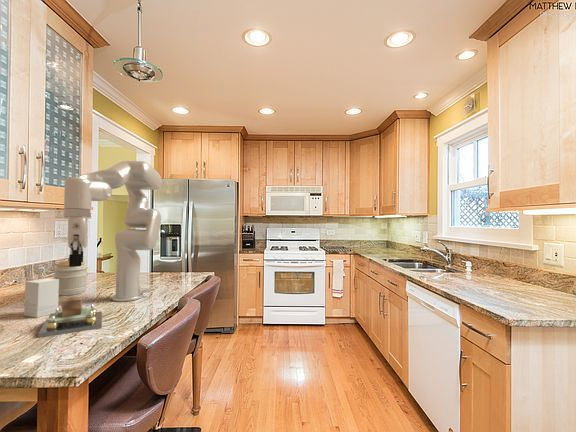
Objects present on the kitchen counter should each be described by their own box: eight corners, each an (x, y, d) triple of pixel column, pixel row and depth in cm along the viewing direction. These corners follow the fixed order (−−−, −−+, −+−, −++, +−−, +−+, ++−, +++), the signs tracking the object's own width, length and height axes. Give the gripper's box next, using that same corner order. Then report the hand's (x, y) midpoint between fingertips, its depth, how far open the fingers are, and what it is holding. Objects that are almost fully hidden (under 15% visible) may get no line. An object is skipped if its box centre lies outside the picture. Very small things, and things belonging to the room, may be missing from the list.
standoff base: (101, 314, 108) (102, 301, 109) (101, 327, 95) (102, 312, 95) (46, 321, 100) (47, 307, 100) (38, 337, 86) (38, 320, 86)
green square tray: (93, 308, 105) (94, 293, 106) (92, 318, 95) (93, 300, 96) (51, 314, 99) (52, 297, 99) (45, 324, 89) (46, 305, 89)
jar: (92, 291, 144) (93, 256, 145) (62, 297, 132) (64, 258, 133) (76, 288, 149) (77, 254, 150) (46, 293, 138) (48, 256, 138)
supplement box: (58, 312, 110) (60, 279, 111) (36, 318, 103) (37, 282, 104) (45, 310, 113) (47, 277, 113) (23, 315, 106) (24, 281, 106)
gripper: (90, 214, 93) (88, 267, 93) (91, 214, 108) (90, 260, 108) (60, 213, 89) (59, 269, 89) (66, 214, 104) (65, 261, 103)
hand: (76, 264), depth 98 cm, fingers open, 9 cm apart
